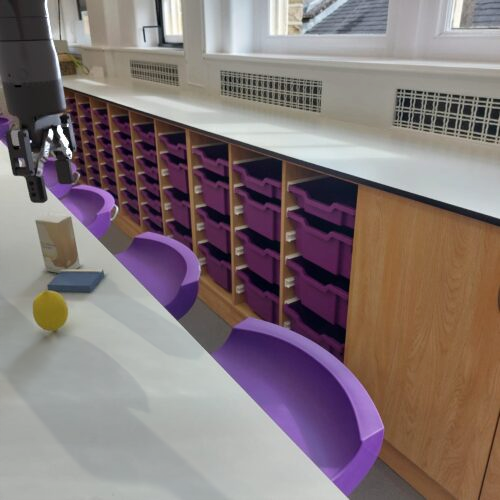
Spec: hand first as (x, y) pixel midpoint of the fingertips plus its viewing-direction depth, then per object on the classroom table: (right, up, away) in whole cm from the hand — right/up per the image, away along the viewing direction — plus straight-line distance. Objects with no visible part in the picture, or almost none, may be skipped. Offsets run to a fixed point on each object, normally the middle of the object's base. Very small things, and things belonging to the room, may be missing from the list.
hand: (53, 192), depth 72 cm
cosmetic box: (-12, -13, +35) cm, 39 cm away
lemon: (-5, -23, +13) cm, 27 cm away
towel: (-7, -15, +29) cm, 33 cm away
